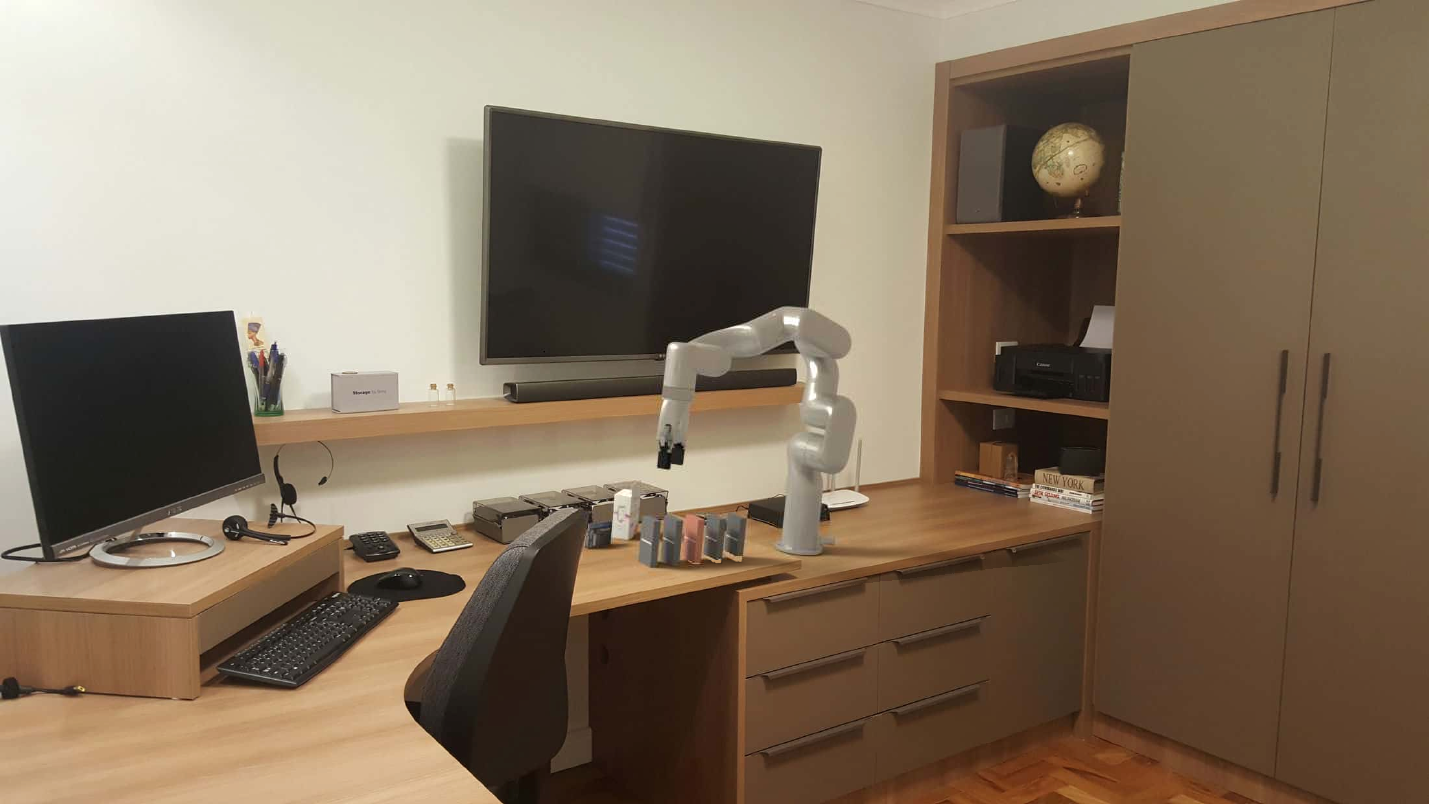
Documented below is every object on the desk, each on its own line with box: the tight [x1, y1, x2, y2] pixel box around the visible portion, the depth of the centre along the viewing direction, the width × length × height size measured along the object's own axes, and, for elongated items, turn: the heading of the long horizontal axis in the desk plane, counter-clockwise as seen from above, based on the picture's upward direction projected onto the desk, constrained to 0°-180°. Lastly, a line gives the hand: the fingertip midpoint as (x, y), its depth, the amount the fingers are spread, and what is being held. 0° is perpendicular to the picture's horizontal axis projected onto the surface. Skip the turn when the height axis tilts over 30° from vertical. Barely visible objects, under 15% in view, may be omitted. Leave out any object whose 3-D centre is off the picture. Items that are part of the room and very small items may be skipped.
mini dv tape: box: [583, 520, 613, 550], centre depth 252 cm, size 8×2×6 cm, turn 143°
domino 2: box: [660, 514, 684, 567], centre depth 242 cm, size 2×6×11 cm, turn 31°
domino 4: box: [702, 513, 727, 560], centre depth 248 cm, size 2×6×11 cm, turn 31°
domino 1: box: [638, 515, 662, 569], centre depth 239 cm, size 2×6×11 cm, turn 31°
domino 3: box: [681, 513, 706, 563], centre depth 245 cm, size 2×6×11 cm, turn 31°
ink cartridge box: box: [611, 480, 642, 541], centre depth 264 cm, size 9×5×15 cm, turn 168°
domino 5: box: [723, 512, 748, 557], centre depth 251 cm, size 2×6×11 cm, turn 31°
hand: (670, 466), depth 239 cm, fingers open, 9 cm apart
